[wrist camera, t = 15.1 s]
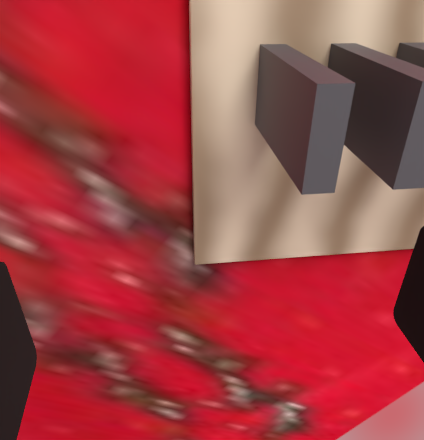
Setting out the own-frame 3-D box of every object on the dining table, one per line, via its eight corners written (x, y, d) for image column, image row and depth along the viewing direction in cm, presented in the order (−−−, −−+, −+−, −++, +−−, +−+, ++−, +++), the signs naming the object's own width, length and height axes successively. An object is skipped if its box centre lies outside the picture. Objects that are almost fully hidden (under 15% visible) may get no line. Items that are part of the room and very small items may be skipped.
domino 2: (319, 122, 28) (392, 189, 19) (331, 43, 25) (422, 81, 17) (341, 121, 28) (424, 187, 19) (355, 43, 25) (458, 80, 17)
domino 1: (254, 124, 27) (301, 194, 19) (260, 44, 25) (317, 83, 16) (278, 123, 27) (334, 192, 19) (285, 44, 25) (355, 83, 16)
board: (193, 257, 34) (195, 265, 33) (188, -24, 23) (190, -24, 22) (480, 236, 37) (489, 243, 36) (592, -21, 26) (608, -21, 25)
